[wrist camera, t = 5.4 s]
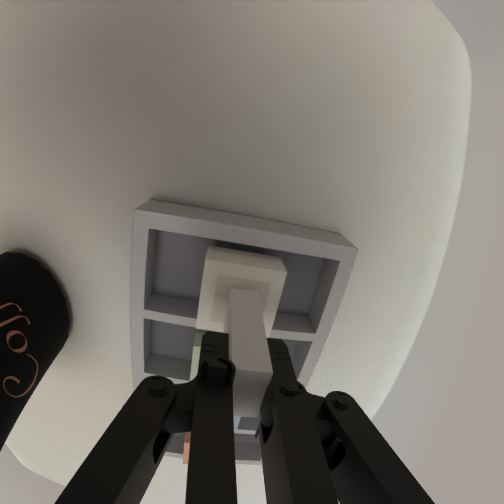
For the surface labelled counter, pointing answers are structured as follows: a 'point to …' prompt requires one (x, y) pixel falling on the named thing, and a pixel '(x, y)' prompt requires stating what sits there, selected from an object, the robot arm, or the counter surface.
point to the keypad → (189, 287)
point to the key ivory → (238, 284)
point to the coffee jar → (26, 332)
